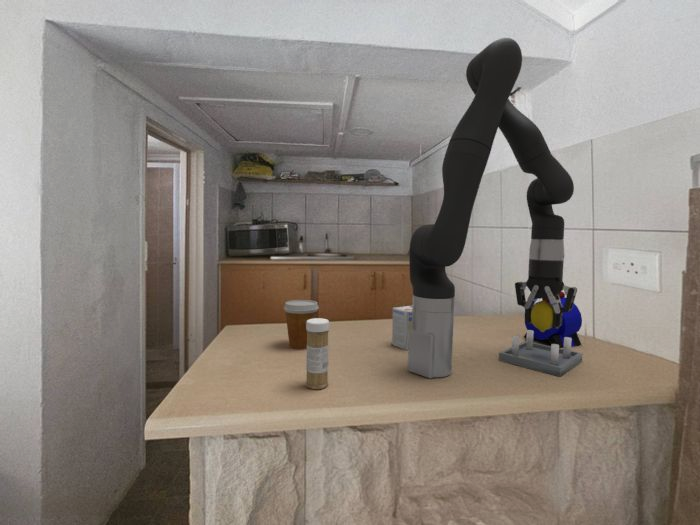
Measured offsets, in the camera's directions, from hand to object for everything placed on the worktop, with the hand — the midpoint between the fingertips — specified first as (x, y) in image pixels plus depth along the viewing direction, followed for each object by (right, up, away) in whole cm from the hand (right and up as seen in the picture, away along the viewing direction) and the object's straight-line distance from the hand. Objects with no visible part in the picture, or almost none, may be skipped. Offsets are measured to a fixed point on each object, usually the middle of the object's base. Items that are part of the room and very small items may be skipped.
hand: (542, 325), depth 91 cm
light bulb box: (-30, -8, +12) cm, 34 cm away
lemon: (0, -2, 0) cm, 2 cm away
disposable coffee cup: (-61, -7, +9) cm, 63 cm away
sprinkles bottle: (-55, -9, -17) cm, 58 cm away
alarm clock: (+12, -8, +18) cm, 23 cm away
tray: (0, -9, +1) cm, 9 cm away
